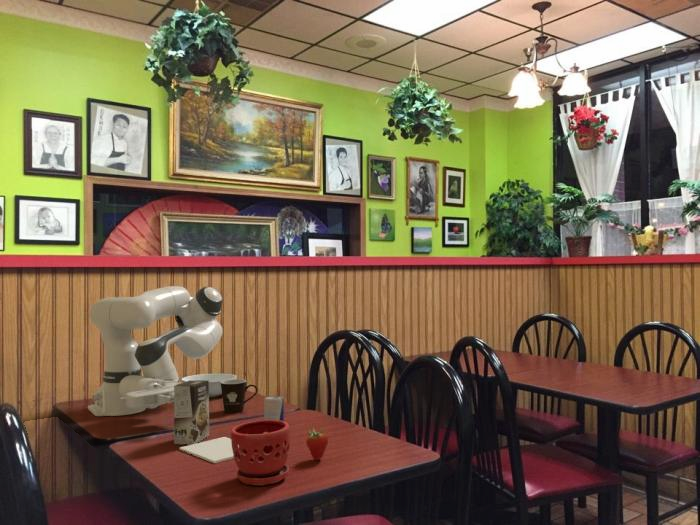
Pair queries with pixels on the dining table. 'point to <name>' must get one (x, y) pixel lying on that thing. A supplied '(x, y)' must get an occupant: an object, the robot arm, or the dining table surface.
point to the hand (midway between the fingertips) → (173, 399)
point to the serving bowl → (211, 381)
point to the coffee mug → (234, 395)
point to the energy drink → (274, 408)
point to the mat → (212, 450)
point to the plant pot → (261, 451)
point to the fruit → (317, 443)
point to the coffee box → (191, 412)
